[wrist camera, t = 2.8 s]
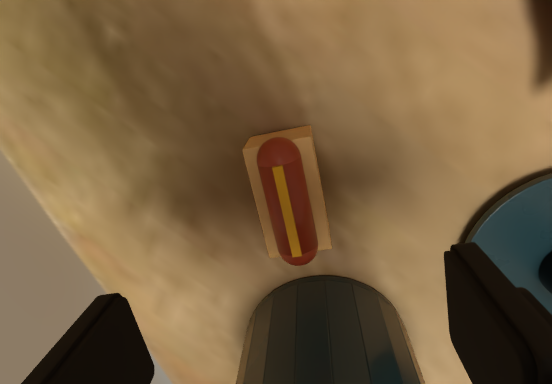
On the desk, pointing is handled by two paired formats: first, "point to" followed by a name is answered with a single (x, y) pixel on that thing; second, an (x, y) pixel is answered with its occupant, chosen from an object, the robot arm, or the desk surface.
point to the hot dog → (288, 194)
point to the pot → (327, 337)
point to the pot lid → (521, 237)
